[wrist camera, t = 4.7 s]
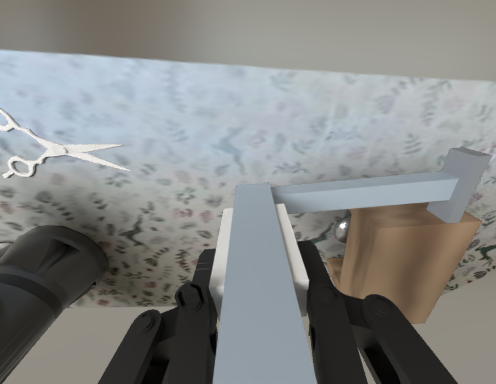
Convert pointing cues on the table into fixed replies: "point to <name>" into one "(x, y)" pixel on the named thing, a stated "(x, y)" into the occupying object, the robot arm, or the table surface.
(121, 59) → the table surface
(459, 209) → the push tool
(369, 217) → the wooden arch block
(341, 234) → the steel token
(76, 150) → the scissors
